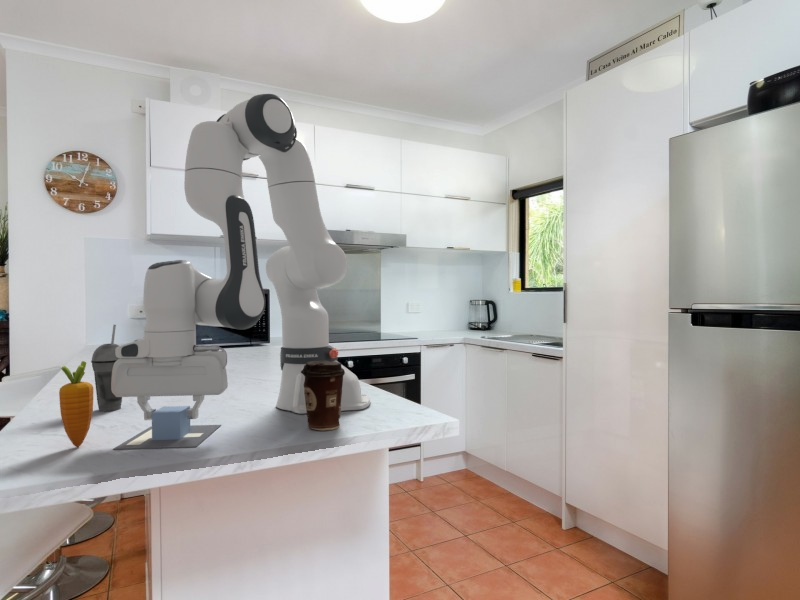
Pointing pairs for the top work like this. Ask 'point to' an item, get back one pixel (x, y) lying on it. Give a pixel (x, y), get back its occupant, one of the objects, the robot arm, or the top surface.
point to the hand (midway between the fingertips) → (171, 419)
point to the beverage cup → (105, 375)
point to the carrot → (76, 405)
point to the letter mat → (190, 440)
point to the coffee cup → (323, 394)
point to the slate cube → (170, 423)
